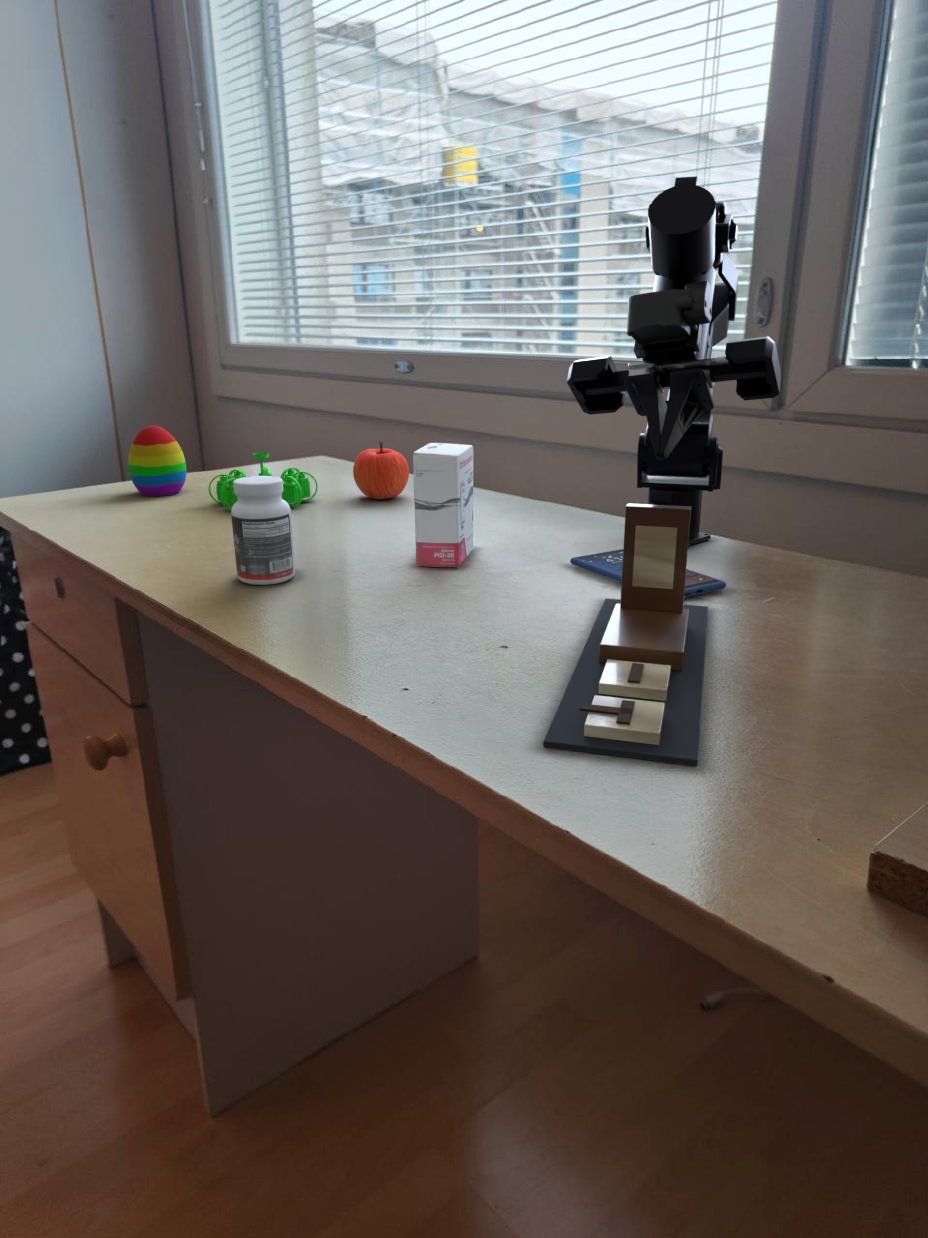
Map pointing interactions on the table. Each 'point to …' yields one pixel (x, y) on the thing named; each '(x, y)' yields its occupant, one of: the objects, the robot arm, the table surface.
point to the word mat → (634, 701)
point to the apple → (380, 473)
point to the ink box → (443, 504)
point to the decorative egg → (156, 462)
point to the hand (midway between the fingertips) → (660, 456)
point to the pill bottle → (262, 531)
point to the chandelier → (293, 484)
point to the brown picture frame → (651, 588)
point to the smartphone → (612, 568)
